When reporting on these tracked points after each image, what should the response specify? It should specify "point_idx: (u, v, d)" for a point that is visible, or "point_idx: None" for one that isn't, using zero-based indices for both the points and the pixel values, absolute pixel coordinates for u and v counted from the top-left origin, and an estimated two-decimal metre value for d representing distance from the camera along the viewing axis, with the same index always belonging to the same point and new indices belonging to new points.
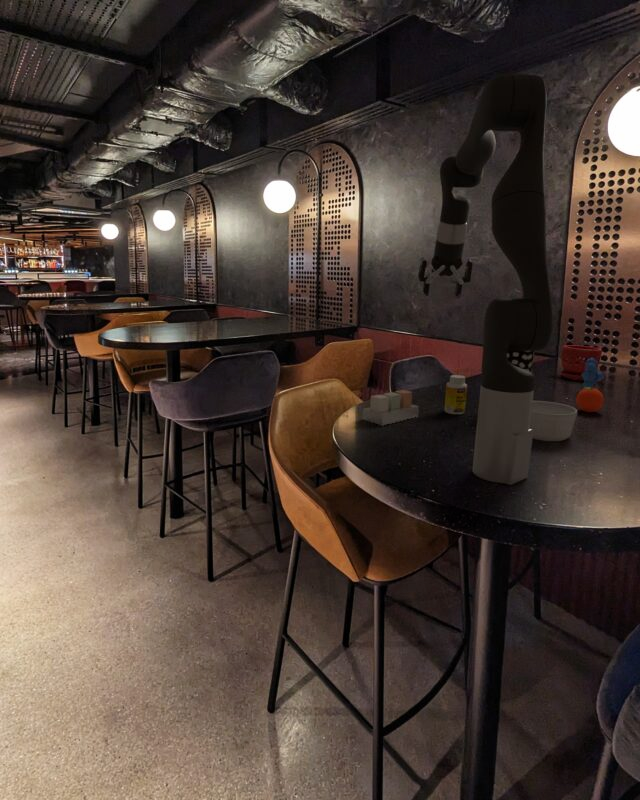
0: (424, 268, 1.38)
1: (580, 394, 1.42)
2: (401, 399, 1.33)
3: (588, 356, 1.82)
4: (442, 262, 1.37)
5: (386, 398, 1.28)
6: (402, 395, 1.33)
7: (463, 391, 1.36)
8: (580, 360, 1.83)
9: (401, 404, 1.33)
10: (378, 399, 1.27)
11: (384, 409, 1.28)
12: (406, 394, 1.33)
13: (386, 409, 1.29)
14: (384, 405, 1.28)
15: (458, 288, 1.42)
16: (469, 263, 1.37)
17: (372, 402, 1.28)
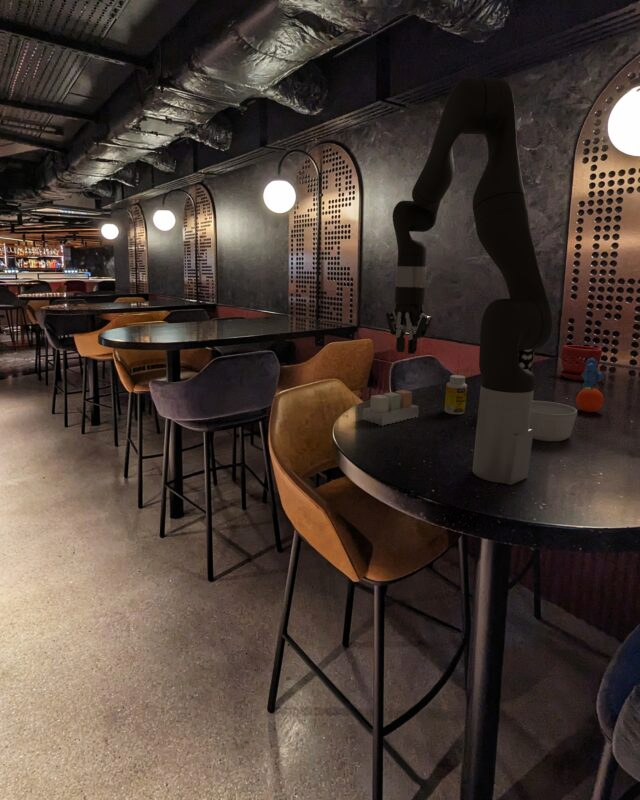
0: (389, 320, 1.33)
1: (580, 394, 1.42)
2: (401, 399, 1.33)
3: (588, 356, 1.82)
4: (401, 310, 1.29)
5: (386, 398, 1.28)
6: (402, 395, 1.33)
7: (464, 391, 1.36)
8: (580, 361, 1.83)
9: (401, 404, 1.33)
10: (378, 399, 1.27)
11: (384, 409, 1.28)
12: (406, 394, 1.33)
13: (386, 409, 1.29)
14: (384, 405, 1.28)
15: (409, 344, 1.29)
16: (423, 317, 1.24)
17: (372, 402, 1.28)
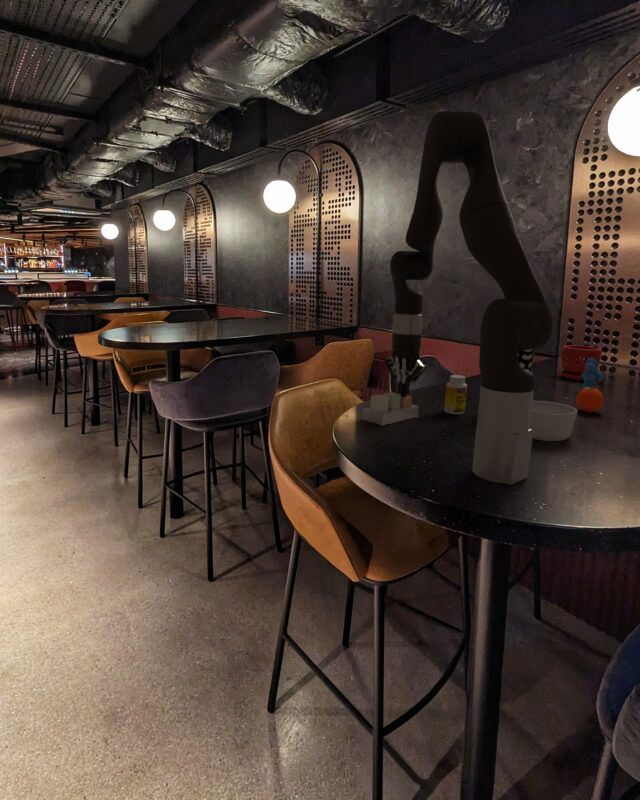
0: (389, 365, 1.35)
1: (580, 394, 1.42)
2: (401, 404, 1.33)
3: (588, 356, 1.82)
4: (398, 354, 1.32)
5: (386, 398, 1.28)
6: (402, 400, 1.33)
7: (464, 391, 1.36)
8: (580, 360, 1.83)
9: None
10: (378, 399, 1.27)
11: (384, 409, 1.28)
12: (406, 398, 1.33)
13: (386, 409, 1.29)
14: (384, 405, 1.28)
15: (401, 387, 1.33)
16: (418, 366, 1.28)
17: (372, 402, 1.28)
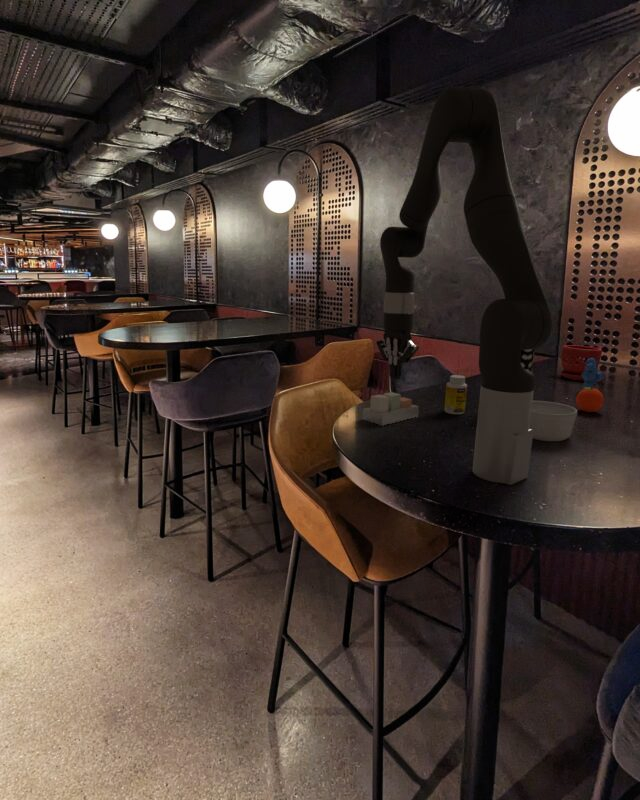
0: (381, 347, 1.31)
1: (580, 394, 1.42)
2: (401, 406, 1.34)
3: (588, 356, 1.82)
4: (390, 335, 1.28)
5: (386, 398, 1.28)
6: (402, 402, 1.33)
7: (464, 391, 1.36)
8: (580, 360, 1.83)
9: None
10: (378, 399, 1.27)
11: (384, 409, 1.28)
12: (405, 401, 1.33)
13: (386, 409, 1.29)
14: (384, 405, 1.28)
15: (393, 369, 1.29)
16: (409, 346, 1.23)
17: (372, 402, 1.28)
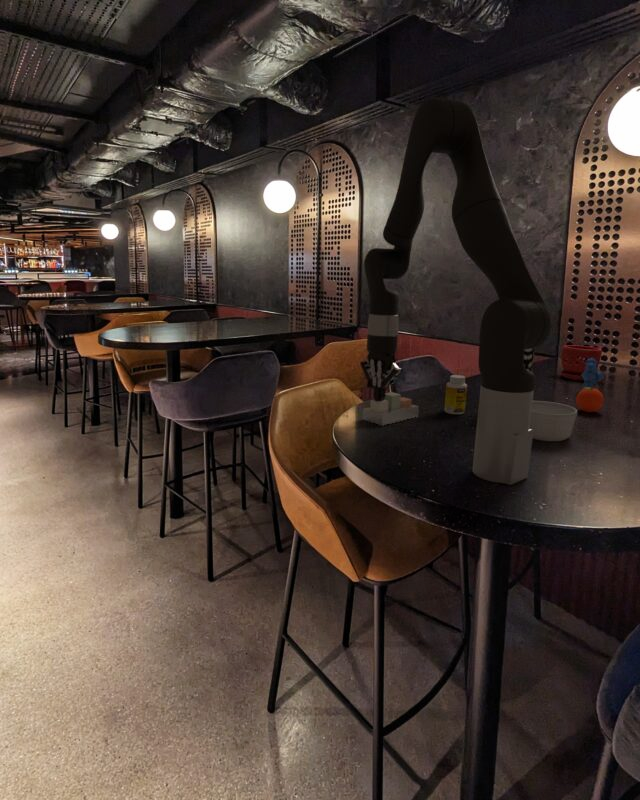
0: (364, 368, 1.29)
1: (580, 394, 1.42)
2: (401, 406, 1.34)
3: (588, 356, 1.82)
4: (374, 357, 1.26)
5: (386, 402, 1.28)
6: (402, 402, 1.33)
7: (464, 391, 1.36)
8: (580, 360, 1.83)
9: None
10: (378, 403, 1.27)
11: None
12: (405, 401, 1.33)
13: None
14: (384, 409, 1.28)
15: (377, 391, 1.27)
16: (393, 369, 1.22)
17: (372, 406, 1.29)
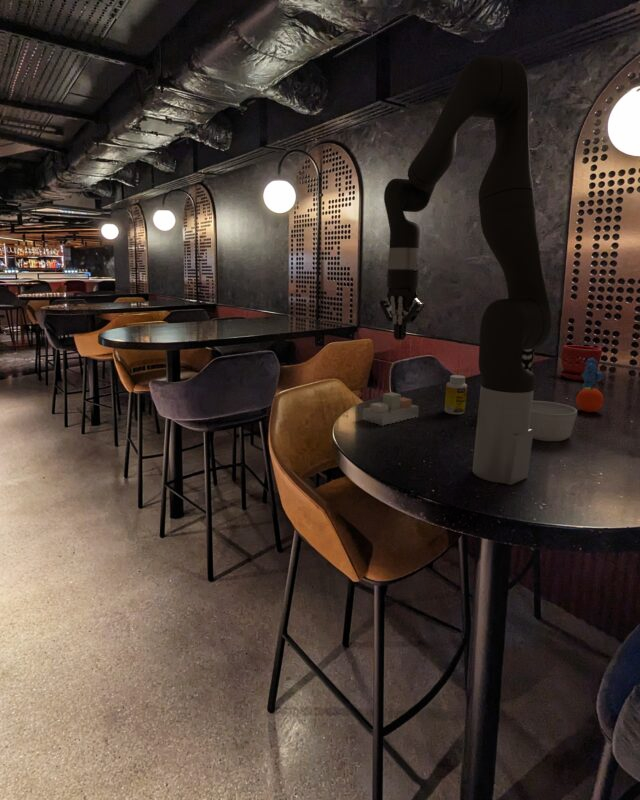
0: (384, 307, 1.27)
1: (580, 394, 1.42)
2: (401, 406, 1.34)
3: (588, 356, 1.82)
4: (394, 294, 1.24)
5: (386, 406, 1.28)
6: (402, 402, 1.33)
7: (464, 391, 1.36)
8: (580, 361, 1.83)
9: None
10: (378, 407, 1.27)
11: None
12: (405, 401, 1.33)
13: None
14: None
15: (398, 329, 1.25)
16: (415, 304, 1.19)
17: (372, 409, 1.29)
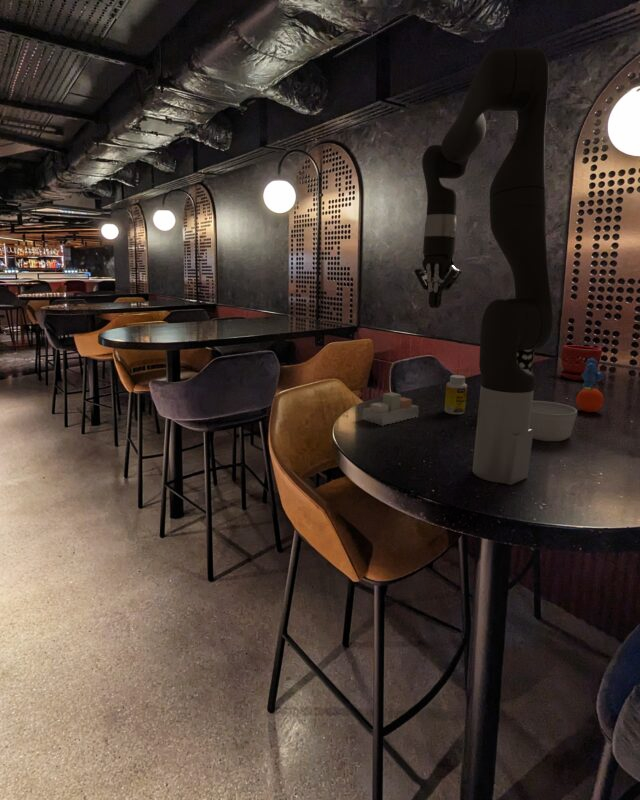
0: (419, 275, 1.27)
1: (580, 394, 1.42)
2: (401, 406, 1.34)
3: (588, 356, 1.82)
4: (430, 261, 1.24)
5: (386, 406, 1.28)
6: (402, 402, 1.33)
7: (464, 391, 1.36)
8: (580, 360, 1.83)
9: None
10: (378, 407, 1.27)
11: None
12: (405, 401, 1.33)
13: None
14: None
15: (433, 297, 1.25)
16: (452, 270, 1.20)
17: (372, 409, 1.29)
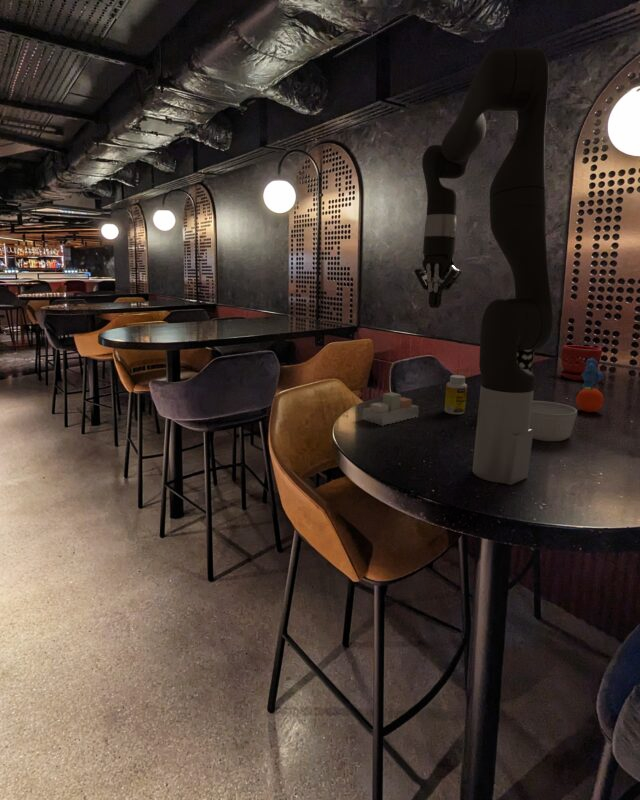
0: (419, 275, 1.27)
1: (580, 394, 1.42)
2: (401, 406, 1.34)
3: (588, 356, 1.82)
4: (430, 261, 1.24)
5: (386, 406, 1.28)
6: (402, 402, 1.33)
7: (464, 391, 1.36)
8: (580, 360, 1.83)
9: None
10: (378, 407, 1.27)
11: None
12: (405, 401, 1.33)
13: None
14: None
15: (433, 297, 1.25)
16: (452, 270, 1.20)
17: (372, 409, 1.29)
